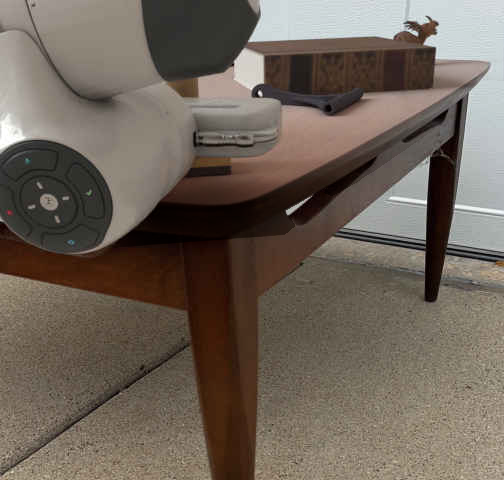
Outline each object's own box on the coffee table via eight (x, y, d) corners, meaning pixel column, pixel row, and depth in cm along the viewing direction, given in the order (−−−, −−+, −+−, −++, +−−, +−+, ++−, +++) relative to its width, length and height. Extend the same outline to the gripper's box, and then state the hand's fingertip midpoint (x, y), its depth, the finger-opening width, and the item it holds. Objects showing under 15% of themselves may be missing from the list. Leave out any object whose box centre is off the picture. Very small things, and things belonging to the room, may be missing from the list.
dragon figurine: (411, 61, 146) (414, 14, 142) (435, 63, 143) (440, 15, 139) (374, 68, 137) (377, 18, 134) (399, 70, 134) (403, 18, 130)
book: (432, 89, 112) (436, 47, 109) (265, 100, 106) (265, 55, 103) (373, 72, 133) (375, 36, 130) (232, 80, 127) (230, 42, 125)
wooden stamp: (146, 179, 64) (136, 67, 60) (145, 166, 69) (135, 61, 64) (231, 174, 65) (227, 63, 61) (224, 161, 70) (220, 57, 65)
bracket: (271, 95, 109) (271, 77, 107) (363, 99, 103) (364, 79, 102) (232, 111, 97) (231, 90, 96) (333, 116, 91) (334, 94, 90)
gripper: (273, 97, 49) (293, 73, 61) (5, 96, 52) (75, 72, 64) (273, 184, 52) (292, 143, 64) (18, 177, 55) (83, 140, 67)
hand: (182, 108), depth 64 cm, fingers open, 8 cm apart
